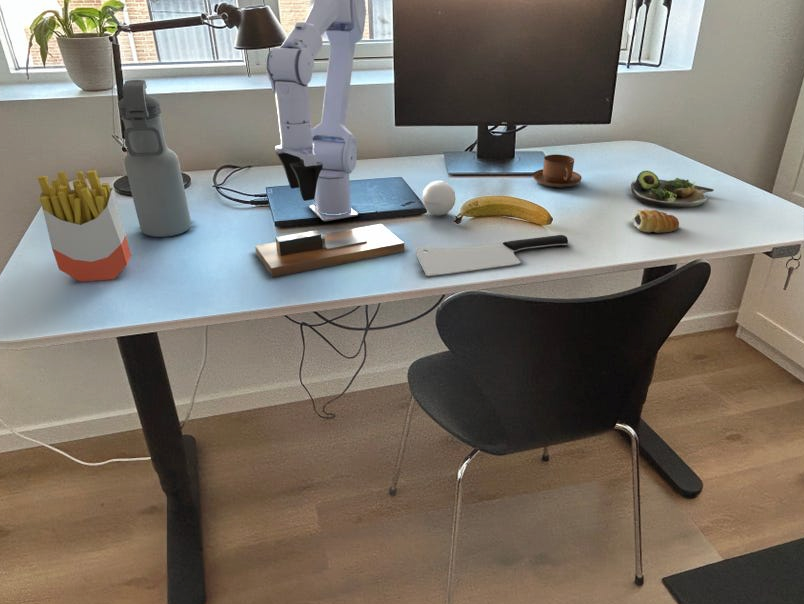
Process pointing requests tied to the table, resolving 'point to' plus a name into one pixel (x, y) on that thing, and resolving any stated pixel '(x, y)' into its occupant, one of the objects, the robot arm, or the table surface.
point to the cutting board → (331, 251)
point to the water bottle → (152, 165)
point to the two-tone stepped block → (312, 242)
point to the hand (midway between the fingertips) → (302, 193)
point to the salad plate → (667, 191)
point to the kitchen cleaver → (480, 255)
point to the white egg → (438, 198)
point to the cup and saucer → (557, 172)
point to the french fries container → (84, 227)
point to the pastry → (655, 221)
